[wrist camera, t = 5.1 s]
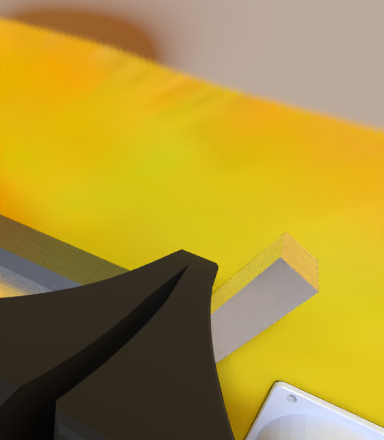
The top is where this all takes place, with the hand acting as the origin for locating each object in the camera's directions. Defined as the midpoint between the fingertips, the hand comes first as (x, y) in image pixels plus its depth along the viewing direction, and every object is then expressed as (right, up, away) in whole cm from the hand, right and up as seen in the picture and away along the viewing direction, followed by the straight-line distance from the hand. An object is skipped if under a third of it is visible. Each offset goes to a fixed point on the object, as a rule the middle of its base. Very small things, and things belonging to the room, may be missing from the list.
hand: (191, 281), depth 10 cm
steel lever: (0, -4, +7) cm, 8 cm away
